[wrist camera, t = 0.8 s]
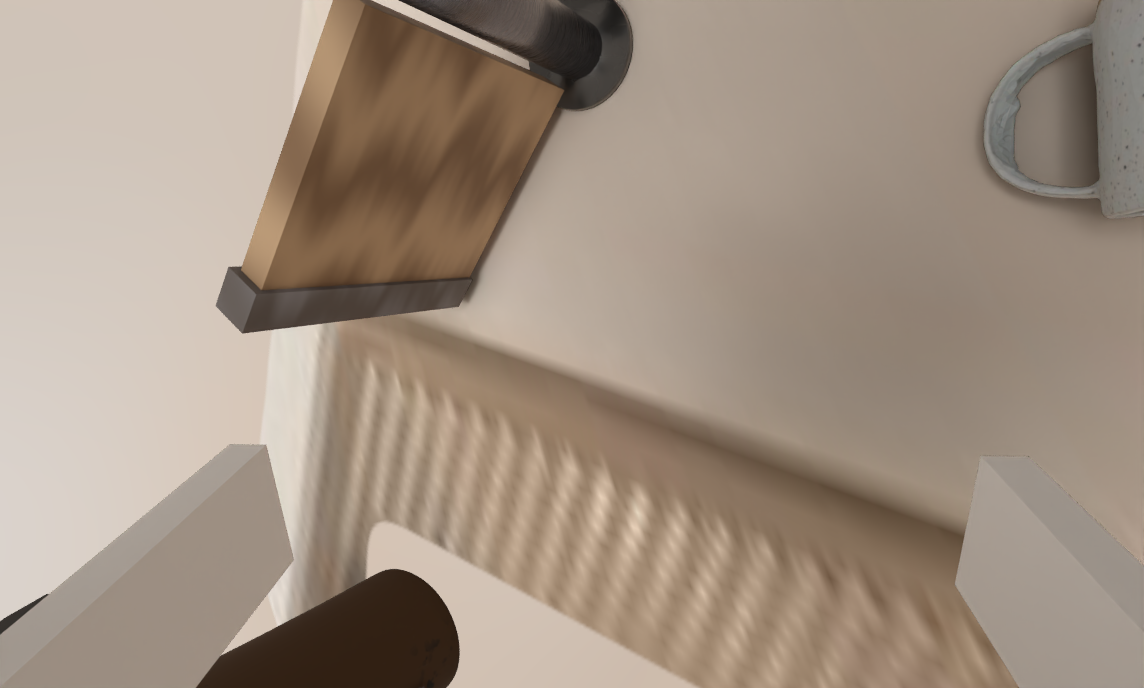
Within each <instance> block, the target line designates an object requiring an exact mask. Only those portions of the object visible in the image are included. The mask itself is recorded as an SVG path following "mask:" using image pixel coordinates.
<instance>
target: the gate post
mask: <svg viewBox="0 0 1144 688" xmlns="http://www.w3.org/2000/svg"><path fill="white" fill-rule="evenodd" d="M399 1H401V2H403V3H406V4H408V5H410V6H412V7H414V8H416V9H419V10H421V11H423V12H425V13H427V14H429V15H431V16H434V17H436V18H438V19H440V20H442V21H444V22H446V23H449V24H451V25H453V26H455V27H457V28H459V29H461V30H464V31H466V32H468V33H470V34H472V35H474V36H476V37H479V38H481V39H483V40H485V41H487V42H489V43H491V44H494V45H496V46H498V47H500V48H502V49H504V50H506V51H509V52H511V53H513V54H515V55H517V56H519V57H522V58H524V59H526V60H528V61H529V66H530V71H532V72H534V73H536V74H539V75H541V76H543V77H545V78H547V79H548V80H550V81H551V82H553V83H554V84H556V85H557V86H559V87H560V88H562V89H563V90H564V92H563V94H562V96H561V98H560V100H559V102H558V104H557V106H558V107H560V108H563V109H566V110H571V111H582V110H587V109H590V108H593V107H595V106H597V105H599V104H601V103H602V102H604V101H605V100H607V99H608V98H609V97H610V96H611V95H612V94H613V93H614V92H615V91H616V89H617V88H618V87H619V85H620V84H621V82H622V80H623V79H624V77H625V75H626V72H627V70H628V67H629V64H630V61H631V55H632V46H633V41H632V32H631V27H630V23H629V20H628V18H627V16H626V14H625V12H624V11H623V9H622V8H621V7H620V6H619V4H618V3H617V2H615V1H614V0H399Z"/></svg>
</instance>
